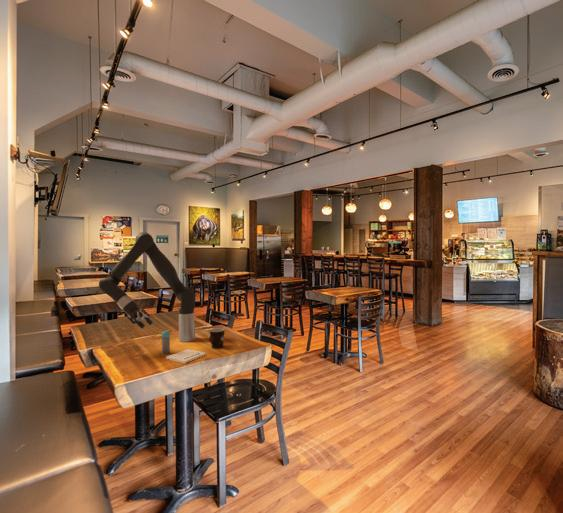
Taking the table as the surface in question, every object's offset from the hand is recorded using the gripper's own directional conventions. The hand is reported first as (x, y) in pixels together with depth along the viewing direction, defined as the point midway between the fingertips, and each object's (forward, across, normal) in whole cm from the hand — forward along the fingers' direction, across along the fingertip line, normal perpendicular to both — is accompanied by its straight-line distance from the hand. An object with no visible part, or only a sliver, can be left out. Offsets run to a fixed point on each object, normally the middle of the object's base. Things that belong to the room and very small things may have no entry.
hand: (147, 325), depth 182 cm
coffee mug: (+36, +12, -14) cm, 40 cm away
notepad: (+28, -5, -6) cm, 29 cm away
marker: (+18, 0, +3) cm, 19 cm away
